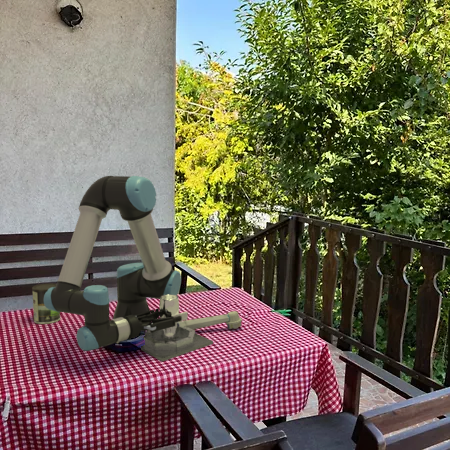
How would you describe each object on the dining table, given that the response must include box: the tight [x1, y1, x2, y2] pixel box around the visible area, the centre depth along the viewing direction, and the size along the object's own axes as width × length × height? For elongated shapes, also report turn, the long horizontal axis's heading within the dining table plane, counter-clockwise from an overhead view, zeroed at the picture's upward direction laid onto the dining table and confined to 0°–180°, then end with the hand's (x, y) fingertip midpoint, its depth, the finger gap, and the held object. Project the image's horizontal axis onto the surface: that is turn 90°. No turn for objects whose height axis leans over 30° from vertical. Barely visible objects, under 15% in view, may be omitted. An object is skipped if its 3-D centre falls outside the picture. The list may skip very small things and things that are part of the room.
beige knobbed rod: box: [177, 310, 243, 331], centre depth 174 cm, size 5×7×25 cm
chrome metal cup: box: [158, 294, 180, 341], centre depth 162 cm, size 7×7×15 cm
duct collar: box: [140, 326, 214, 362], centre depth 163 cm, size 22×22×3 cm
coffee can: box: [31, 282, 61, 325], centre depth 185 cm, size 10×10×14 cm
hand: (180, 313), depth 165 cm, fingers closed on chrome metal cup, 6 cm apart
